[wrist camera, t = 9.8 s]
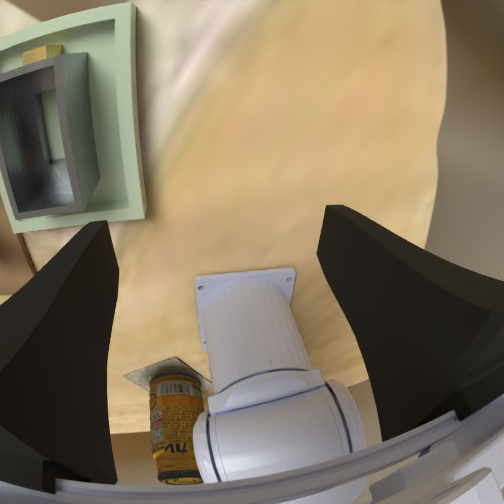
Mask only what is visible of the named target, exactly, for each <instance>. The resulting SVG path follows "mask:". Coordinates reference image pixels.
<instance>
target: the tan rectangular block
mask: <svg viewBox="0 0 504 504" xmlns="http://www.w3.org/2000/svg"><path fill="white" fill-rule="evenodd" d="M35 274H36V271H35V268H34V266H33V263H32V261H31V259H30V256H29V254H28V251H27V249H26V246H25V244H24V241H23V238H22V236H21V233H15V234H14V233H13V230H12V227H11V224H10V221H9V219H8V216H7V213H6V210H5V207H4V203H3V200H2V197H1V194H0V295H6V294H15V293H16V292H17V291H18V290H19V289H20V288H21V287H23V286H24V285H25V284H26V283H27V282H28V281H29V280H30V279H31V278H32V277H33V276H34V275H35Z"/></svg>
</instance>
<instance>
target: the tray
mask: <svg viewBox="0 0 504 504" xmlns="http://www.w3.org/2000/svg"><path fill="white" fill-rule="evenodd" d="M46 45H63V54H71V53H81V52H88V71H89V87H90V100H91V110H92V120H93V129H94V137H95V144H96V151H97V158H98V165H99V171H100V177H101V179H100V181H99V182H98V184H97V186H96V188H95V190H94V192H93V194H92V196H91V198H90V200H89V202H88V204H87V206H86V208H85V210H84V211H77V212H69V213H62V214H55V215H48V216H41V217H34V218H27V219H21V220H15V217H14V214H13V211H12V208H11V205H10V202H9V199H8V195H7V192H6V189H5V185H4V181H3V178H2V174H1V170H0V194H1V197H2V200H3V203H4V207H5V210H6V213H7V216H8V219H9V221H10V224H11V227H12V230H13V233H14V234H15V233H22V232H30V231H37V230H45V229H53V228H61V227H69V226H78V225H86V224H88V223H89V222H92V221H102V220H107V222H115V221H125V220H135V219H145V213H146V208H147V200H146V192H145V184H144V175H143V166H142V156H141V145H140V134H139V120H138V104H137V83H136V6H135V5H134V4H133V3H132V2H127V3H121V4H115V5H109V6H104V7H99V8H94V9H90V10H85V11H81V12H77V13H73V14H69V15H65V16H62V17H58V18H55V19H51V20H48V21H45V22H42V23H39V24H36V25H33V26H30V27H27V28H24V29H22V30H19V31H16V32H14V33H11V34H9V35H6V36H4V37H2V38H0V74H2V73H5V72H7V71H10V70H13V69H16V68H19V67H21V66H23V53H24V52H27V51H30V50H33V49H36V48H39V47H43V46H46ZM41 93H42V102H43V110H44V118H45V125H46V131H47V137H48V143H49V149H50V154H51V159H52V160H54V159H59V158H65V154H64V148H63V142H62V136H61V129H60V122H59V115H58V106H57V97H56V89H52V90H48V91H44V92H41Z"/></svg>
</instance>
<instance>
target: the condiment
mask: <svg viewBox="0 0 504 504" xmlns="http://www.w3.org/2000/svg"><path fill="white" fill-rule="evenodd" d="M182 371H183V372H182ZM124 377H125V378H127V379H128V380H130V381H132V382H133V383H134V384H136V385H138V386H140V387H141V388H143V389H145V390H147V391H149V392H150V394H149V395H150V401H149V402H150V424H151V426H150V429H151V443H152V455H153V457H154V458H155V460H156V461H157V465H156V467H157V470H158V480H159V481H161V482H162V483H164V484H170V485H193V484H201V483H204V481H203V479H202V477H201V475H200V472H199V469H198V466H197V462H196V458H195V453H194V446H193V428H194V425H195V423H196V421H197V420H198V417H199V415H200V414H201V413H202V412H204V406H203V398H202V392H207V391H209V390H212V389H213V388H212V383H211V382H209V381H208V380H207V379H205V378H204V377H202V376H201V375H199V374H198V373H196V372H194V371H193V370H192V369H191V368H189V367H188V366H187V365H185V364H184V363H182V362H180V361H179V360H178V359H177V358H172V359H170V360H165V361H162V362H160V363H157V364H153V365H151V366H148V367H146V368H142V369H140V370H138V371H136V372H132V373H130V374H128V375H125V376H124ZM149 377H150V378H149ZM149 379H150V380H149Z"/></svg>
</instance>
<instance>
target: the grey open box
mask: <svg viewBox="0 0 504 504" xmlns="http://www.w3.org/2000/svg"><path fill="white" fill-rule="evenodd" d="M52 89H56V97H57V106H58V115H59V122H60V129H61V136H62V142H63V148H64V154H65V158H59V159H54V160H52V159H51V154H50V149H49V143H48V137H47V131H46V125H45V118H44V110H43V102H42V93H41V92H44V91H48V90H52ZM0 170H1V174H2V178H3V181H4V185H5V189H6V192H7V195H8V199H9V202H10V205H11V208H12V211H13V214H14V217H15V220H21V219H27V218H34V217H41V216H48V215H55V214H62V213H69V212H77V211H84V210H85V208H86V206H87V204H88V202H89V200H90V198H91V196H92V194H93V192H94V190H95V188H96V186H97V184H98V182H99V181H100V179H101V177H100V171H99V165H98V158H97V151H96V144H95V137H94V129H93V120H92V110H91V100H90V87H89V71H88V52H81V53H71V54H63V45H46V46H43V47H39V48H36V49H33V50H30V51H27V52H24V53H23V66H21V67H19V68H16V69H13V70H10V71H7V72H5V73H2V74H0Z"/></svg>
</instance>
